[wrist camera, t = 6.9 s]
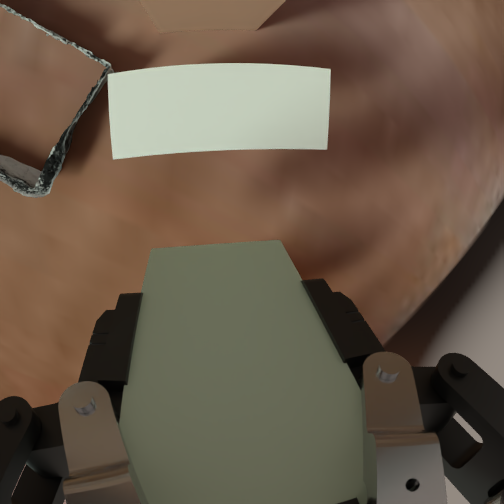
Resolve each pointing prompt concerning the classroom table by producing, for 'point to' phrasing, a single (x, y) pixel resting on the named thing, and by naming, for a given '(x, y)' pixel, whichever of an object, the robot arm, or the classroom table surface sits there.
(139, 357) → the domino
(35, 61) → the classroom table surface
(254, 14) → the domino end
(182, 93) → the domino
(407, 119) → the classroom table surface
